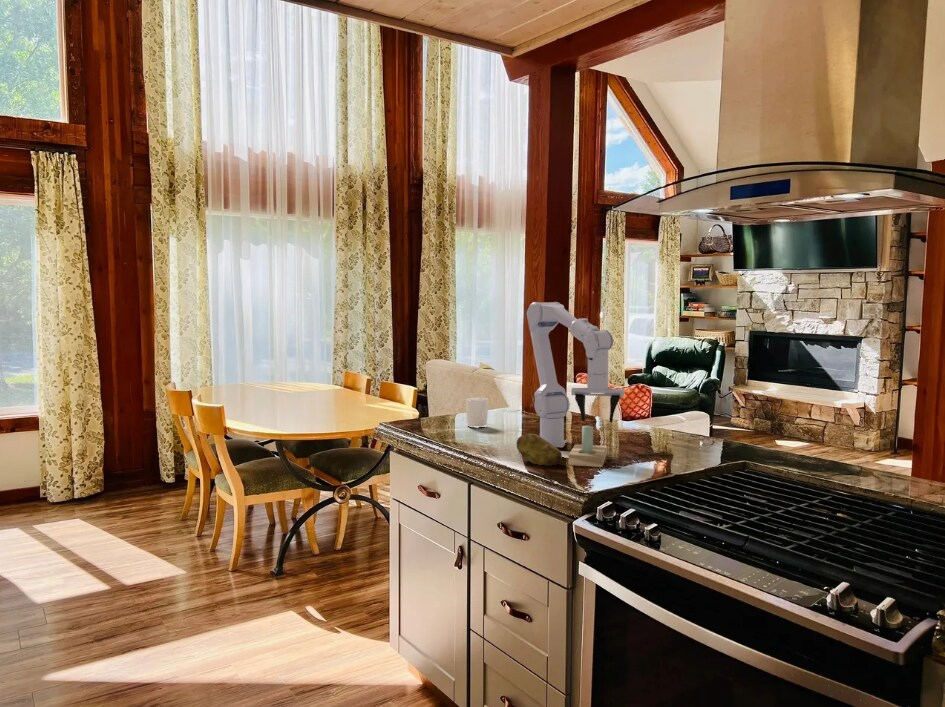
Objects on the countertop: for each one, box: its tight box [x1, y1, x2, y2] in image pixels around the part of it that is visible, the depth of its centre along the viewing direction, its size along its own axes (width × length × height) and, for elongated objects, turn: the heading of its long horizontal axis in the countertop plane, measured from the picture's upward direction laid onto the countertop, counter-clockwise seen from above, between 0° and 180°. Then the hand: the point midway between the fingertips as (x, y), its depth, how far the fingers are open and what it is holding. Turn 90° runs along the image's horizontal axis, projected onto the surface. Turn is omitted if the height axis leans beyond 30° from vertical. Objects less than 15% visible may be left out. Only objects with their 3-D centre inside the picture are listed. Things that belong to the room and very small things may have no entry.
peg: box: [581, 425, 594, 454], centre depth 195 cm, size 3×3×10 cm
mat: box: [560, 450, 571, 459], centre depth 205 cm, size 8×6×1 cm
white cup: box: [465, 396, 489, 427], centre depth 250 cm, size 8×8×10 cm
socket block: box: [568, 444, 607, 468], centre depth 198 cm, size 14×9×3 cm, turn 165°
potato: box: [516, 432, 563, 467], centre depth 194 cm, size 8×13×8 cm, turn 36°
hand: (597, 421), depth 201 cm, fingers open, 7 cm apart
